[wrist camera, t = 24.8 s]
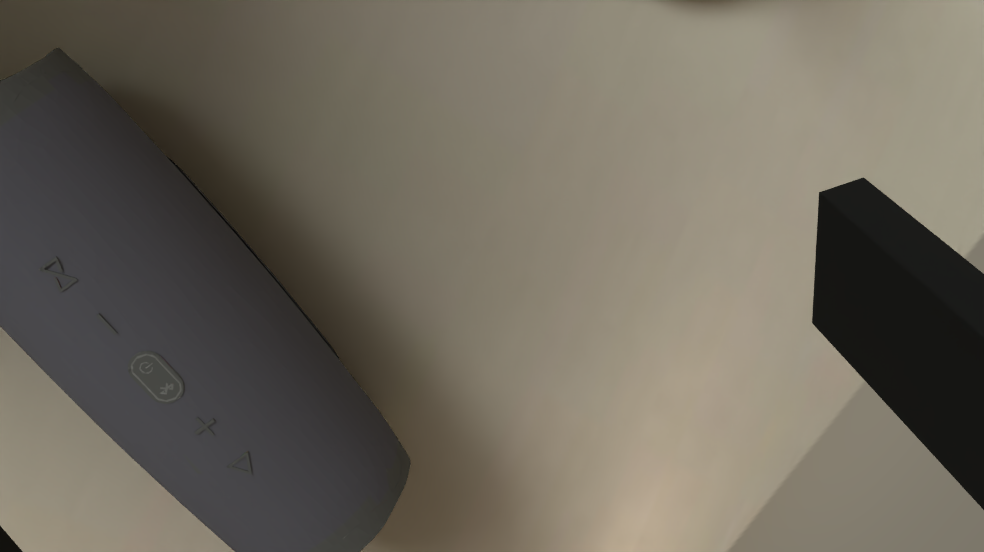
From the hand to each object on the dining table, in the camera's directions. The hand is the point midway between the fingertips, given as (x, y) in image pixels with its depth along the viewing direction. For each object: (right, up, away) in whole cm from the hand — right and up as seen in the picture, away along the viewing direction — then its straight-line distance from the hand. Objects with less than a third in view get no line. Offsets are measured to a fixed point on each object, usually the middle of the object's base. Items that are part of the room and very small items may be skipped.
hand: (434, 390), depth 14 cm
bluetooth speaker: (-14, +1, +30) cm, 33 cm away
